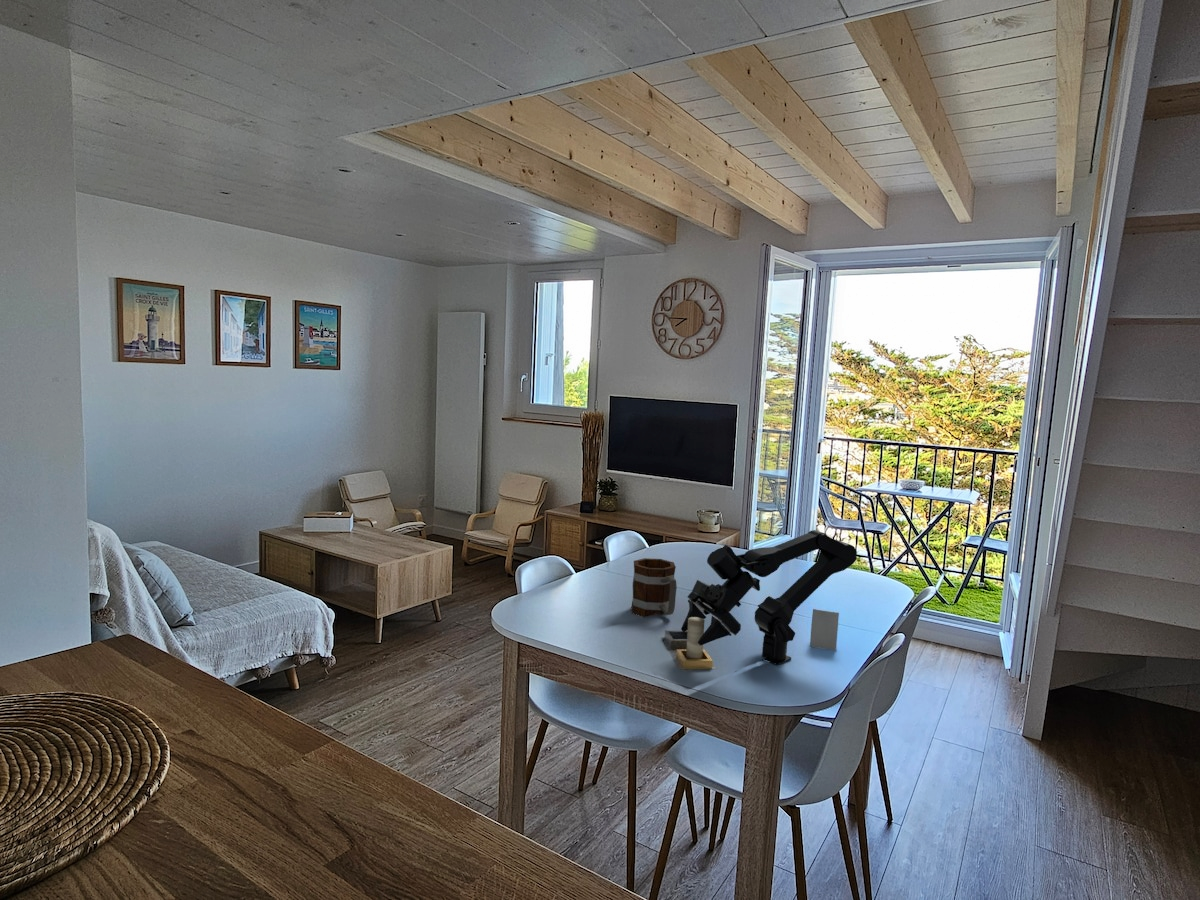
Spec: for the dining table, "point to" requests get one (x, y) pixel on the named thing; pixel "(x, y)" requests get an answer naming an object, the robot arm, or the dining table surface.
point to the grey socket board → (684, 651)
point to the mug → (653, 587)
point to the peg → (694, 638)
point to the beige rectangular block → (824, 629)
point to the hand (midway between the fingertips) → (690, 637)
